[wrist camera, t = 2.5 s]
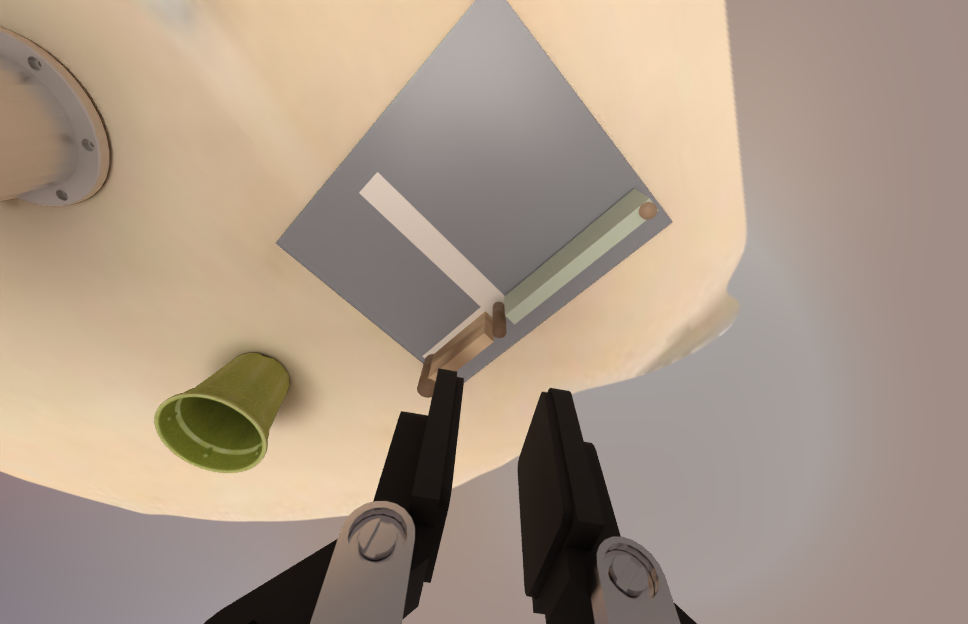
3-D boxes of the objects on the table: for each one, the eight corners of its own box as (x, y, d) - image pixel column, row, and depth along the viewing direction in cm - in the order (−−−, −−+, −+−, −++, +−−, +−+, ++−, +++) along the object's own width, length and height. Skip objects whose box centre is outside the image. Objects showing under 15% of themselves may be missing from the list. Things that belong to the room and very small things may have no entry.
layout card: (455, 387, 42) (455, 389, 42) (277, 242, 35) (275, 243, 35) (671, 221, 34) (672, 222, 33) (491, -19, 26) (491, -20, 26)
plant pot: (324, 395, 43) (287, 458, 36) (254, 419, 45) (204, 484, 38) (271, 326, 39) (217, 380, 32) (197, 355, 41) (129, 413, 34)
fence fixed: (434, 369, 41) (427, 400, 37) (421, 359, 41) (413, 389, 37) (510, 308, 38) (511, 334, 34) (497, 295, 37) (497, 320, 33)
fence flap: (512, 305, 37) (514, 326, 33) (504, 296, 37) (505, 317, 33) (642, 199, 32) (660, 211, 29) (634, 188, 32) (651, 199, 28)
